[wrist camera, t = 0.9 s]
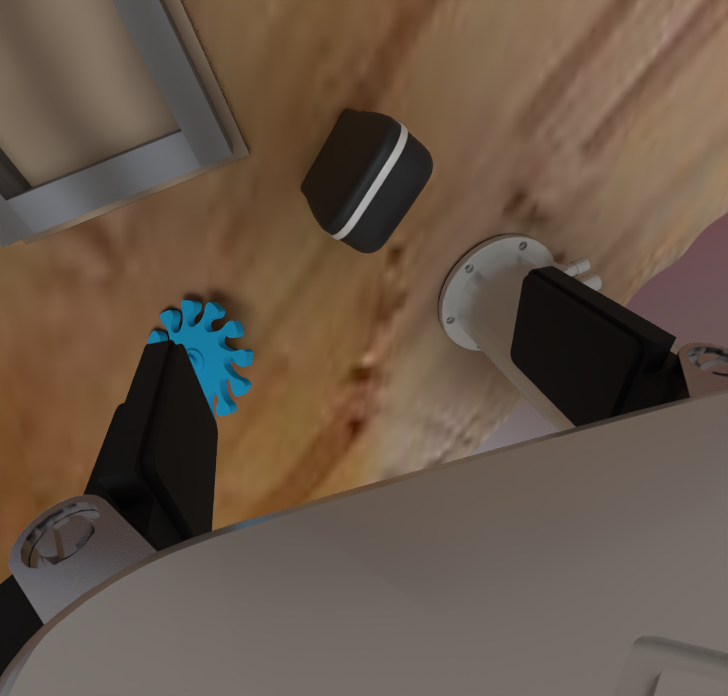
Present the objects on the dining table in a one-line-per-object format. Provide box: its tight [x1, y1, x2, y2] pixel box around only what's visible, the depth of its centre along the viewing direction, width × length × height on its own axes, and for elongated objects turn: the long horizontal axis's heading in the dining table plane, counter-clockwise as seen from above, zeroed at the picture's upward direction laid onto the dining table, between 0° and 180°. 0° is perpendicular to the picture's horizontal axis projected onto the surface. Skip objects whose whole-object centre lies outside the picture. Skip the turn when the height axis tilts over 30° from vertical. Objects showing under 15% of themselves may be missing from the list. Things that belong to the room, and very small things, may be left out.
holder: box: [0, 0, 250, 247], centre depth 20 cm, size 16×16×5 cm
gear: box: [148, 300, 253, 418], centre depth 33 cm, size 11×6×10 cm
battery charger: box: [301, 109, 433, 253], centre depth 25 cm, size 7×4×11 cm, turn 144°
